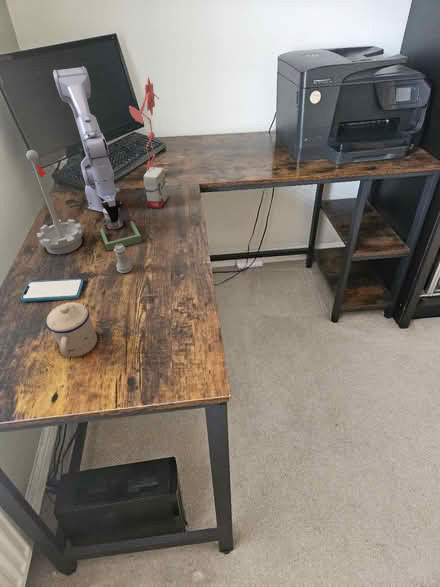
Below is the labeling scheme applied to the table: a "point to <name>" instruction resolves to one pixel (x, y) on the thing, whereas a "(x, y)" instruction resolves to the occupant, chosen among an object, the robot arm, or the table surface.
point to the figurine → (138, 117)
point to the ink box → (155, 187)
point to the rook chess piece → (122, 259)
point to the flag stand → (55, 221)
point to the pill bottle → (109, 223)
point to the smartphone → (52, 290)
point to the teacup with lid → (72, 329)
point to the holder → (124, 241)
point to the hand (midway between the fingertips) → (113, 216)
